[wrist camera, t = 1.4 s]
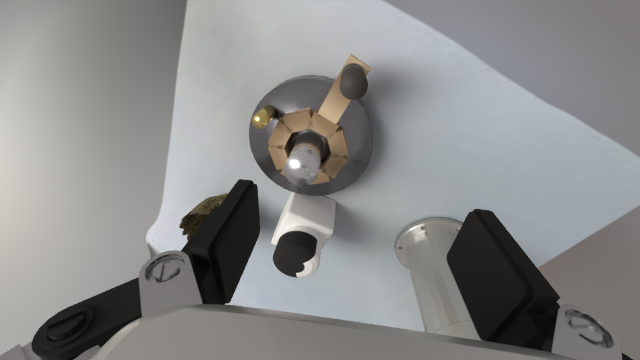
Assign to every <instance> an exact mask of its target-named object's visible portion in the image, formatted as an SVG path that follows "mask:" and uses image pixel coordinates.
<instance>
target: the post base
mask: <svg viewBox="0 0 640 360" xmlns="http://www.w3.org/2000/svg"><path fill="white" fill-rule="evenodd" d="M334 83H335V80H333V79H330V78H327V77H322V76H315V75H306V76H299V77H294V78H292V79H289V80H286V81H285V82H283V83H281V84H279V85H278V86H277V87H275V88H274V89H273V90H272V91H270V92H269V93H268V94H267V95H266V96H265V97H264V98H263V99H262V100H261V101H260V103H259V104H258V105H257V107H256V109H255V111H254V113H253V115H252V118H251V122H250V128H249V140H250V146H251V150H252V153H253V156H254V158H255V160H256V162H257V164H258V165H259V167H260V168H261V170H262V171H263V172H264V173H265V174H266V175H267V176H268V177H269V178H270V179H271V180H272V181H273V182H275V183H276V184H278V185H279V186H281V187H283V188H284V189H287V190H289V191H291V192H295V193H298V194H302V195H310V196H319V195H327V194H331V193H334V192H337V191H340V190H342V189H344V188H346V187H347V186H349V185H350V184H352V183H353V182H354V181H355V180H356V179H357V178H358V177H359V176H360V175H361V174H362V172H363V171H364V169H365V168H366V166H367V164H368V162H369V159H370V156H371V151H372V141H373V139H372V130H371V126H370V122H369V118H368V115H367V112H366V110H365V108H364V106H363V104H362V103H361V101H360V100H359V99H356V100H351V101H350V103H349V104H348V106H347V108H346V109H345V111H344V112H343V114H342V116H341V117H340V119H339V120H338V121H339V127H341V126H343V129H344V133H345V138H346V142H347V146H348V155H347V161H346V163H345V164H344V165H343V167H342V168H341V170H340V171H339V172H338V174H337V175H336V177H335V178H332V177H330V181H328V182H323V183H317V184H312V183H313V182H315V180H316V179H317V176H318V171H319V166H320V164H321V163H324V161H325V160H326V158H327V157H328V155H329V154H330V152H331V151H330V148H329V144H328V140H327V138H326V137H324V136H322V135H320V134H319V133H317V132H315V131H313V130H312V129H306V130H302V131H298V132H293V133H292V134H291V135H290V137H289V139H288V141H287V145H288V148H289V151H290V156H289V158H288V160H287V162H286V164H285V167H284V173H285V176H284V175H282V174H280V173H281V171H282V169H279V170H277V169H276V167H275V164H274V162H273V159H272V157H271V155H270V152H269V150H268V147H269V145H270V144H269V143H268V141H269V139H270V137H271V135H272V133H273V131H274V129H275V127H276V125H277V123H278V121H279V119H280V118H281V117H282V118H283V116H284V115H285V114H286V113H290V112H294V111H297V110H301V109H305V108H309V107H311V110H312V114H313V113H314V111H315V109H316V108H317V109H320V107H321V106H322V104H323V102H324V100H325V98H326V97H327V95H328V93H329V91H330V90H331V88H332V86H333V84H334ZM311 184H312V185H311Z"/></svg>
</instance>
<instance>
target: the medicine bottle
mask: <svg viewBox="0 0 640 360" xmlns="http://www.w3.org/2000/svg"><path fill="white" fill-rule="evenodd" d="M335 208H336V202H335V201H333V200H331V199H329V198H326V197H324V196H322V195H319V196H310V195H302V194H298V193H295V192H292V194H291V196H290V198H289V200H288V201H287V203H286V205H285V207H284V209H283V211H282V213H281V216H280V218H279V221H278V224H277V227H276V230H275V232H274V235H273V238H272V241H271V243H272V244H273V245H276V249H275V252H274V255H273V261H274V264H275V266H276V267H277V269H278V270H279V271H281V272H282V273H284V274H286V275H288V276H291V277H297V278H301V277H307V276H310V275H311V274H313V273H314V272H316V271H317V269H318V267H319V262H320V254H321V249H322V248H323V246H324V245H325V243H326V242H327V241H328V239H329V238H330V237H331V235H332V234H333V232H334V223H335Z"/></svg>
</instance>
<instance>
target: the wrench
mask: <svg viewBox="0 0 640 360" xmlns="http://www.w3.org/2000/svg"><path fill="white" fill-rule="evenodd" d="M370 69H371V68H370V66H368V65H367V64H365V63H364V62H362V61H361V60H359V59H358V58H356V57H355V56H353V55H352V54H350V56H349V58H348V59H347V61H346V63H345V65H344V67H343V68H342V70H341V72H340V74H339V75H338V77H337V79H336V81H335V83H334V84H333V86H332V88H331V90H330V91H329V93H328V95H327V97H326V98H325V100H324V102H323V104H322V106H321V107H320V109H317V108H316V109H315V111H314V113H313V114H312V110H311V107H309V108H305V109H301V110H297V111H294V112H290V113H286V114H285V115H284V116H283V118H282V117H281V118H280V119H279V121H278V123H277V125H276V127H275V129H274V131H273V133H272V135H271V137H270V139H269V141H268V143H269V144H270V145H269V147H268V150H269V152H270V155H271V157H272V159H273V162H274V164H275V167H276V169H277V170H279V169H282V171H281V173H280V174H282V175H284V176H285V173H284V167H285V164H286V162H287V160H288V158H289V156H290V151H289V148H288V145H287V141H288V139H289V137H290V135H291V134H292V133H293V132H298V131H302V130H306V129H312V130H313V131H315V132H317V133H319V134H320V135H322V136H324V137H326V138H327V140H328V144H329V148H330V151H331V152H330V154H329V155H328V157H327V158H326V160H325V161H324V163H321V164H320V166H319V171H318V176H317V179H316V180H315V182H313V183H312V184H317V183H323V182H328V181H330V177H332V178H335V177H336V175H337V174H338V172H339V171H340V170H341V168H342V167H343V165H344V164H345V163H346V161H347V155H348V146H347V142H346V138H345V133H344V129H343V126H341V127H339V121H338V120H339V119H340V117H341V116H342V114H343V112H344V111H345V109H346V108H347V106H348V104H349V103H350V101H351V100H356V99H359V98H361V97H362V96H363V95H364V94H365V93H366V91H367V88H368V81H367V78H366V76H367V74H368V72H369V71H370ZM312 184H311V185H312Z"/></svg>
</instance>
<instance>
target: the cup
mask: <svg viewBox="0 0 640 360" xmlns="http://www.w3.org/2000/svg"><path fill="white" fill-rule="evenodd" d="M227 195H228V194H222V195H219V196H213V197H210V198H207V199H205V200H204V201H202V202H201V203H200V204H198V205H197V206H196V207H195V208H194V209H193V210H192V211H190V212H189V213H188V214H187V215H186V216H185V217H183V219H182V222H181V224H180V228H182V229H184V231H183V234H182V235H186V234H188V236H187V240H188V241H189V240H190V238H191V237H192V236H193V234H194V233H195V232H196V230H197V229H198V228H199V227H200V225H201V224H202V223H203V221H204V220H205V219H206V217H207V216H208V215H209V213H210V212H211V211H212V209H213V208H214V207H215V206H220V205H221V203H222V202H223V201H224V199H225V198H226V196H227Z"/></svg>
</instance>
